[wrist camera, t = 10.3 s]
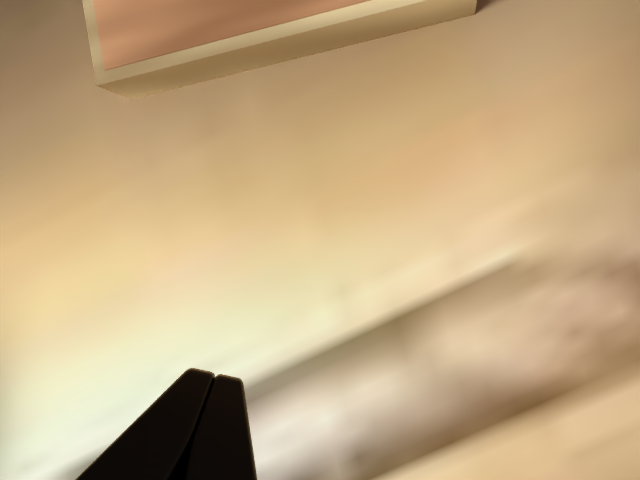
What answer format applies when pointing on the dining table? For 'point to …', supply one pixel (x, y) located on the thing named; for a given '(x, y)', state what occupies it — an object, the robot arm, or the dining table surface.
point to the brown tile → (235, 35)
